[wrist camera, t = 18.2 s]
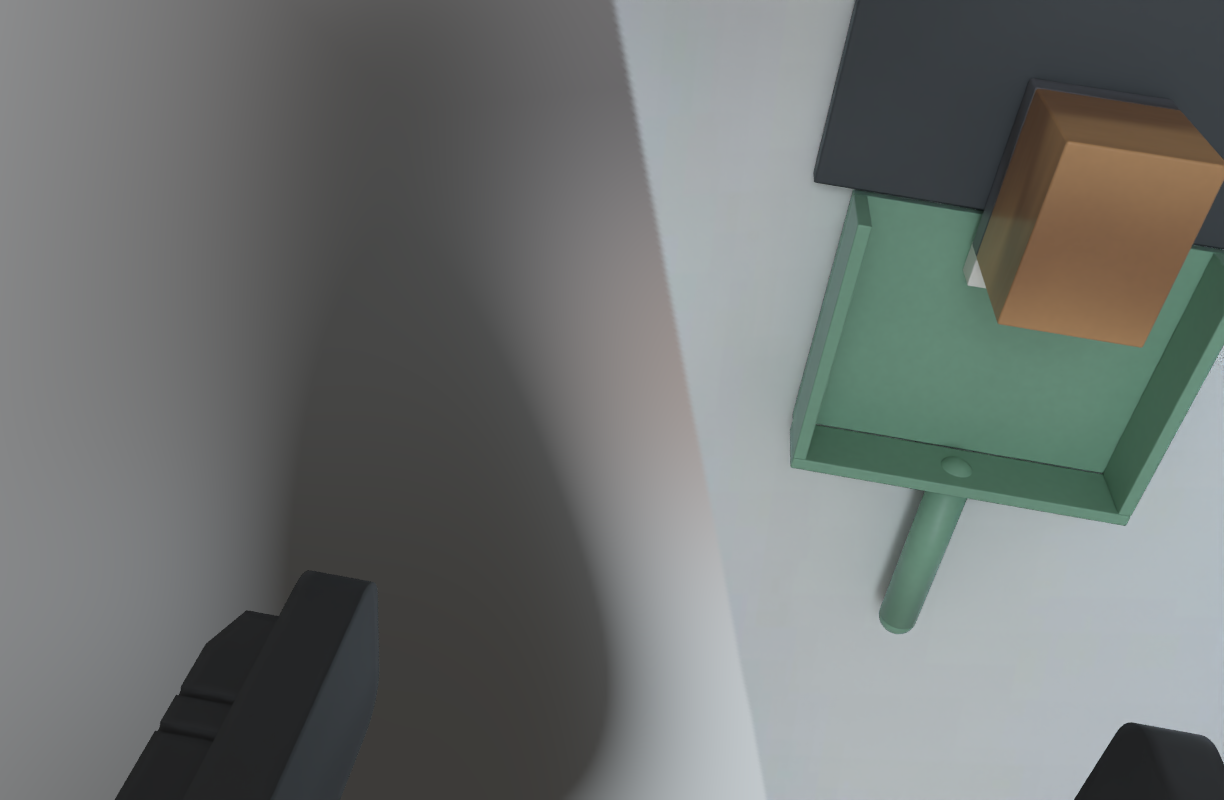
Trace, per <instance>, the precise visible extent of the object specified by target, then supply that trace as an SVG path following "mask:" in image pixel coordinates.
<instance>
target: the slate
mask: <svg viewBox="0 0 1224 800" xmlns="http://www.w3.org/2000/svg"><path fill="white" fill-rule="evenodd" d="M1032 78H1035V79H1041V80H1048V81H1054V82H1061V83H1067V84H1074V85H1080V86H1086V87H1093V88H1099V89H1106V90H1112V91H1119V92H1125V93H1131V94H1138V95H1144V96H1151V97H1157V98H1164V99H1170V100H1172V101H1173V103H1174V104H1175V105H1176V106H1177V107H1178V108H1179V109H1180V111H1181V112H1182V113H1183V114H1184V115H1185V116H1186V117H1187V118H1188V120H1189V121H1190V122H1191V123H1192V124H1193V125H1194V126H1195V128H1196V129H1197V130H1198V131H1199V132H1200V133H1201V134H1202V136H1203V137H1204V138H1205V139H1206V140H1207V141H1208V142H1209V144H1210V145H1211V146H1212V147H1213V148H1214V149H1215V150H1216V152H1217V153H1218V154H1219V155H1220V156H1221V157H1222V159H1223V160H1224V0H856V1H855V5H854V9H853V13H852V17H851V21H850V25H849V29H848V34H847V38H846V42H845V46H844V50H843V54H842V58H841V62H840V66H839V71H838V75H837V79H836V83H835V87H834V91H833V95H832V99H831V103H830V108H829V112H828V116H827V120H826V124H825V128H824V132H823V136H822V140H821V144H820V149H819V153H818V157H817V161H816V165H815V169H814V182H816V183H822V184H828V185H834V186H840V187H846V188H852V189H859V190H865V191H871V192H877V193H883V194H889V195H895V196H901V197H907V198H914V199H920V200H926V201H932V202H938V203H944V204H950V205H956V206H963V207H969V208H975V209H981V210H984V209H985V206H986V203H987V200H988V198H989V195H990V192H991V189H992V186H993V183H994V180H995V177H996V175H997V172H998V169H999V166H1000V163H1001V160H1002V157H1003V155H1004V152H1005V149H1006V146H1007V143H1008V140H1009V137H1010V134H1011V132H1012V129H1013V126H1014V123H1015V120H1016V117H1017V114H1018V112H1019V109H1020V106H1021V103H1022V100H1023V97H1024V94H1025V92H1026V89H1027V86H1028V83H1029V80H1030V79H1032ZM1193 244H1195V245H1201V246H1207V247H1213V248H1220V249H1224V181H1223V183H1222V185H1221V187H1220V189H1219V192H1218V194H1217V196H1216V198H1215V200H1214V202H1213V204H1212V206H1211V208H1210V210H1209V212H1208V214H1207V216H1206V218H1205V220H1204V222H1203V224H1202V227H1201V229H1200V231H1199V233H1198V235H1197V237H1196V239H1195V241H1194V243H1193Z"/></svg>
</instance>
